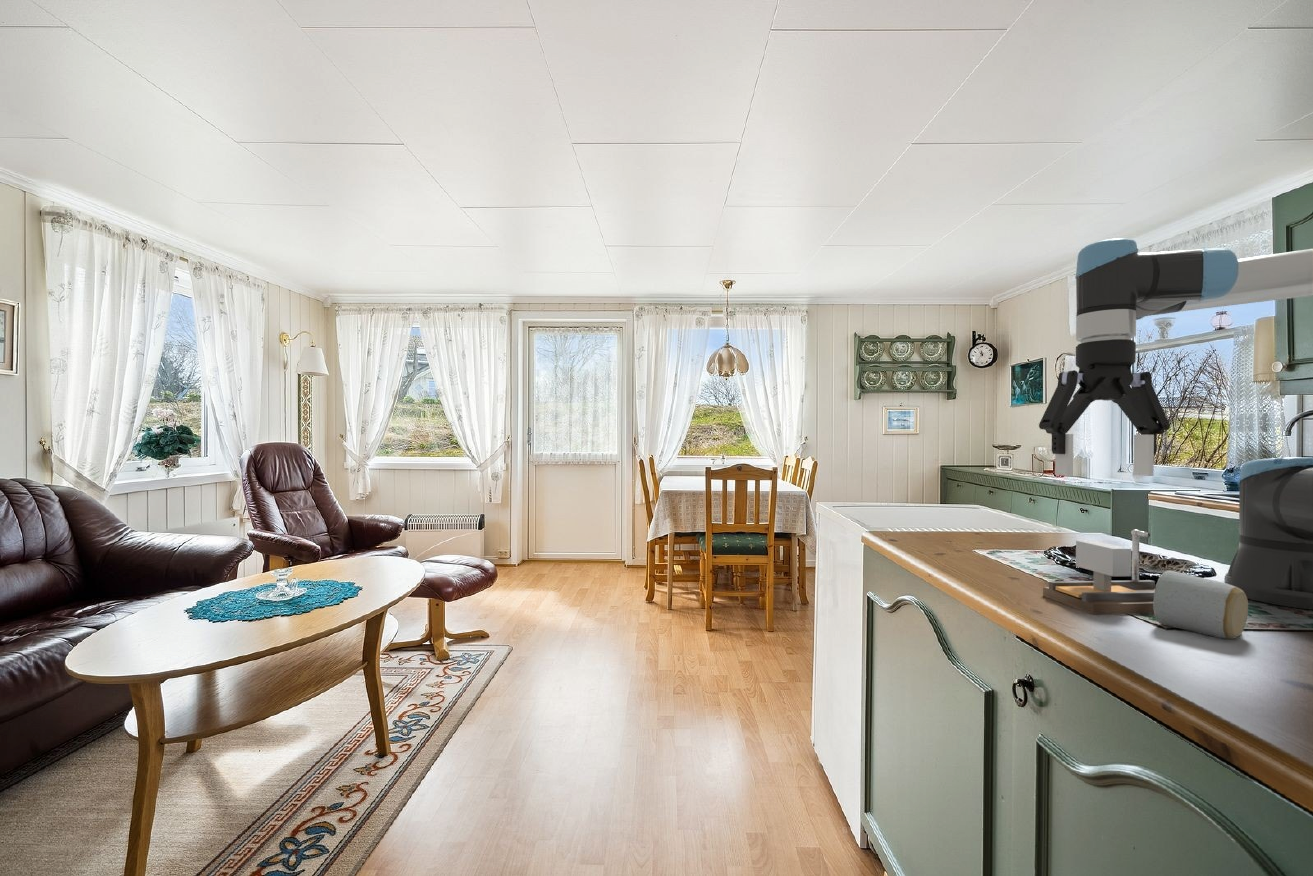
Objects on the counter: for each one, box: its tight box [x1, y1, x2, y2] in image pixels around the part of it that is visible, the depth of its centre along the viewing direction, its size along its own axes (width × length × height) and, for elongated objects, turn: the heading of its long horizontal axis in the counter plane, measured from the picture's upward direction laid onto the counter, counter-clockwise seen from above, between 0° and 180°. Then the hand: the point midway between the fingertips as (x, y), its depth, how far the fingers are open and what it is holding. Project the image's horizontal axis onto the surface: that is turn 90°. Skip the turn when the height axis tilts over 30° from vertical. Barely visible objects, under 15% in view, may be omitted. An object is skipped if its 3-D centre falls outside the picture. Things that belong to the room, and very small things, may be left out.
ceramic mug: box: [1153, 570, 1249, 640], centre depth 80 cm, size 11×8×8 cm
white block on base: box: [1056, 539, 1139, 598], centre depth 92 cm, size 11×7×8 cm, turn 95°
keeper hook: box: [1130, 528, 1151, 580], centre depth 96 cm, size 2×3×10 cm
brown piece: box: [1042, 579, 1156, 615], centre depth 92 cm, size 18×10×3 cm, turn 95°
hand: (1103, 475), depth 92 cm, fingers open, 13 cm apart
